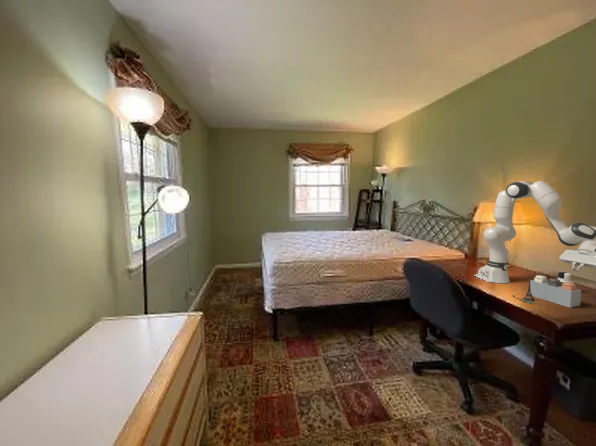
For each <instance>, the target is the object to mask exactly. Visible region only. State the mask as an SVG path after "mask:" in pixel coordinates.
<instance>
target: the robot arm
mask: <svg viewBox="0 0 596 446" xmlns="http://www.w3.org/2000/svg"><path fill="white" fill-rule="evenodd" d="M531 197H532V199H533V200H534V201H535V202H536V203H537V204H538V205H539V206H540V208H541V210H542V212H543V215H544V216H545V217H546V220H547V221H548V222H549V224H550V225H551V227H552V228H553V230H554V231H555V232H556V235H557V237H558V241H560V243H561V244H563V245H564V246H567V247H575V246H578V245H579V243H580V245H579V246H578V247H577V249H573V248H568V249H565V250H564V251H563V253H561V254H560V256H559V257H558V258H559V260H560V262H561V263H565V264H569V265H570V264H571V265H572V267H571V270H572V271H575V272H580V271H581V270H583V269H584V268H590V269H591V268H592V269H596V226H592V225H588V224H586V223H584V222H576V223H573V224H572V225H570V226H569V227H568V226H567V224H566V223H565V222H564V220H563V218H561V217H562V216H561V214H560V213H561V212H560V211H561V208H562V205H563V198H562V197H561V195H560V194H559V193H558V192H557V191H556V190H555V188H553V187H552V186H551V185H550V184H549V183H547V182H546V181H543V180H538V181H535V182H531V181H526V180H525V181H523V180H522V181H521V180H520V181H514V182H511V183H509V184H508V185H507V186H506V187H505V190H502V191H499V192H498V194H497V196H496V200H495V203H494V209H493V216H492V217H493V219H494V220H495V222H496V223H495V225H496V226H491V227H488V228H487V229H485V230H484V232H483V238H484V239H485V241H486V242H487V244H488V248H489V256H488V257H489V259H488V260H486V264H485V265H484V266H482V267H480V268H478V272H477V273H476V274H473V275H474V276H476V277H475V278H477V277H478V278H477V279H479V278H480V280H482V279H483V280H482V281H484V280H485V282H487V283H494V284H508V283H510V276H509V265H510V264H509V263H510V262H509V250H508V249H507V247H506V244H505V242H508V241H512V240H513V239H515V238H516V236H517V231H516V229H515V228H514V222H513V215H514V210H515V209H514V208H515V204H516V201H517V200H519V199H525V198H531ZM474 276H473V277H474Z"/></svg>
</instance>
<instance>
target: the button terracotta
mask: <svg viewBox="0 0 596 446" xmlns="http://www.w3.org/2000/svg"><path fill="white" fill-rule="evenodd" d="M562 289H566V290H570V291H573V290H576V289H577V285H576V283H571V282H564V285H562Z"/></svg>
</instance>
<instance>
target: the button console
mask: <svg viewBox="0 0 596 446" xmlns="http://www.w3.org/2000/svg"><path fill="white" fill-rule="evenodd" d="M529 281H530V289H531V294H532V296H533V298H537V299H541V300H544V301H548V302H551V303H554V304H557V305H561V306H564V307H567V308H570V309H571V308H574V307H575V308H576V307H581V299H582V289H579V288H576V290H573V291H570V290H566V289H562V285H561V286H558V287H555V286H551V285H547V284H548V281H549V280H547V282H546V283H540V282H536V281H534V279H530V280H529ZM529 295H530V294H529Z"/></svg>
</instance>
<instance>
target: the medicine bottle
mask: <svg viewBox="0 0 596 446" xmlns="http://www.w3.org/2000/svg"><path fill="white" fill-rule="evenodd" d="M571 277H572V275H571V273H568V272H567V271H560V272H558V273H557V279H558V280H560V282H561V285H564V282H571V283H574V280H572V279H571ZM574 284H575V283H574Z"/></svg>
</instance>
